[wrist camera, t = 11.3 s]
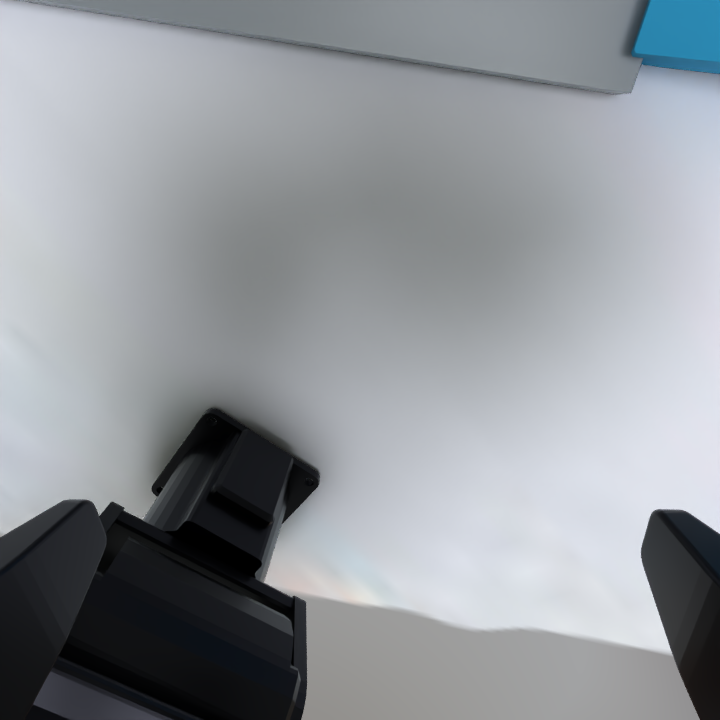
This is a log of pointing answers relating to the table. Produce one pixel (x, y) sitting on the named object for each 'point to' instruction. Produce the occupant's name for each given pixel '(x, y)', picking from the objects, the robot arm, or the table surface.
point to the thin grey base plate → (430, 32)
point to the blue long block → (680, 35)
